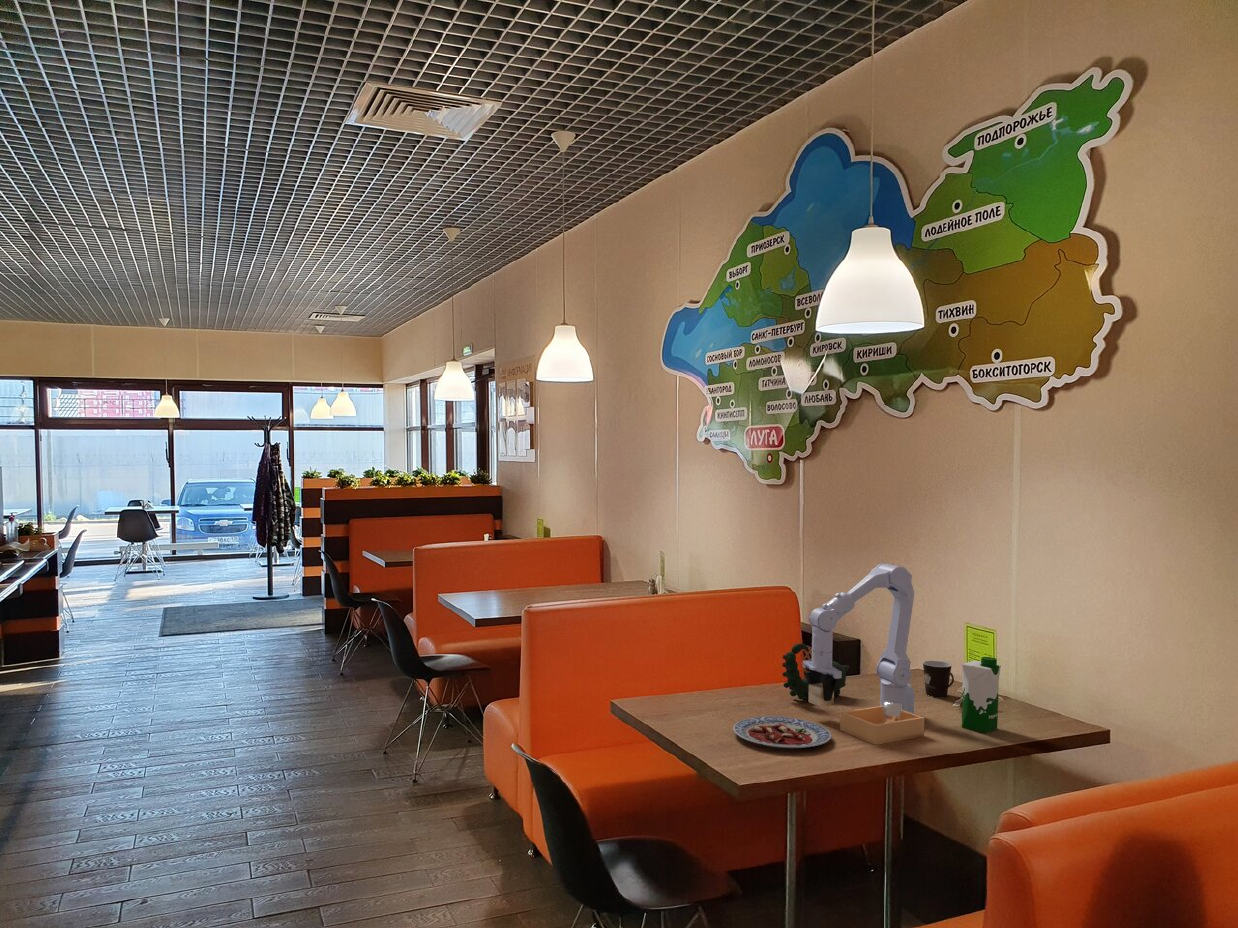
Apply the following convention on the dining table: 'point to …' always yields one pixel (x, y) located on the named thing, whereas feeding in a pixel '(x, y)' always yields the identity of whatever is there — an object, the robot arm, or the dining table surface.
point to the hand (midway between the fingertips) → (821, 697)
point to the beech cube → (818, 695)
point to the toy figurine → (802, 686)
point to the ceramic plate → (782, 732)
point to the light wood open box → (880, 725)
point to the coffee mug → (937, 678)
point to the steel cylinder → (892, 711)
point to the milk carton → (980, 694)
